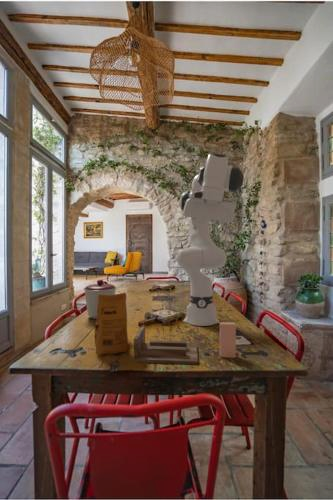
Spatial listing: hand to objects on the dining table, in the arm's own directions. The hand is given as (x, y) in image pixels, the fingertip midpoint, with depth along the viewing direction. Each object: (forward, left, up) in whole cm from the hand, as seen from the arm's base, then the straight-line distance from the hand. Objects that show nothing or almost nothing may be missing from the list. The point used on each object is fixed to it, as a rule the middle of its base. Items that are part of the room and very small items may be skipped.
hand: (205, 230), depth 112 cm
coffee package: (+8, -37, -46) cm, 60 cm away
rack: (+10, -15, -46) cm, 49 cm away
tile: (+10, +7, -46) cm, 48 cm away
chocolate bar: (-11, +13, -47) cm, 50 cm away
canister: (-39, -57, -46) cm, 83 cm away
